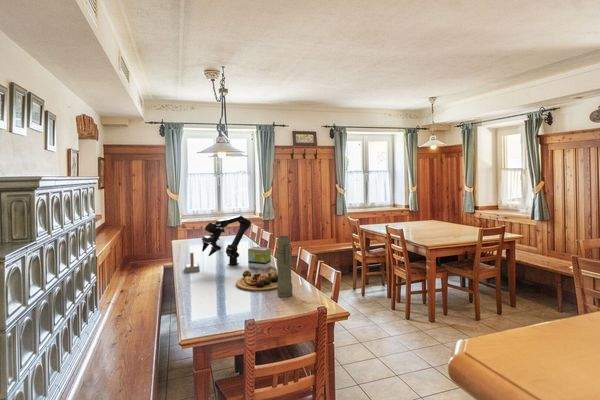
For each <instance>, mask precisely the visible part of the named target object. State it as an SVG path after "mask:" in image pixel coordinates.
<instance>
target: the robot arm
mask: <svg viewBox="0 0 600 400" xmlns="http://www.w3.org/2000/svg"><path fill="white" fill-rule="evenodd" d="M236 222H237V223H239V229H238V230H237V233H236V235H235V237H234V239H233V240H232V241H231V242H232V243H231V244H228V245H227V247H226V248H225V253H226V256H227V257H228V258H229V259H228V262H229V263H228V264H227V265H228V266H237V265H239V264H240V263H239V262H238V258H239V257H240V253H239V252H238V246H239V244H240V242H241V240H242V239H243V236H244V234H245V232H246V231H247V230H249V228H250V227H251V225H252V223H251V221H250V219H247V218H245V217H244V216H243V215H235V216H233V217H229V218H226V219H218V220H216V222H214V223H213V222H209V223H208V224H207V225H206V226H205V228H204V229H205V231H206V232H208V233H210V234H209V235H204V236H203V237H202V239H201V241H202V250H201V252H204V251H206V249H207V248H208V247H209V246H210V245H211V248H210V251H209V253H208V254H207V255H208V257H210V256H212V255H213V254H215V253H216V252H218V251H219V252H220V251H221V249H222V246H220V245H218V241H220V237H221V235H222V234H223V233H226V231H225V229H224V228H227V227H228V225H230V224H234V223H236Z"/></svg>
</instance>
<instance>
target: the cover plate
mask: <svg viewBox="0 0 600 400" xmlns="http://www.w3.org/2000/svg"><path fill="white" fill-rule="evenodd" d="M194 259H195V257H194V252H190V253H189V260H190V263H188V264H186V263H185V264H186V267H195V266H198V263H195V261H194Z"/></svg>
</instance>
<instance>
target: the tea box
mask: <svg viewBox="0 0 600 400" xmlns="http://www.w3.org/2000/svg"><path fill="white" fill-rule="evenodd" d="M271 250H272V248H271V247H262V246H261V247H260V246H253V247H251V248H248V249H247V261H248V268H253V269H261V270H266V269H268V268H270V267H271V266H272V251H271Z"/></svg>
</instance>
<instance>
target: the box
mask: <svg viewBox="0 0 600 400" xmlns="http://www.w3.org/2000/svg"><path fill="white" fill-rule="evenodd" d="M197 265H198V266H195V267H186V263H184V271H185V273H196V272H200V263H199V262H197Z"/></svg>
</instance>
